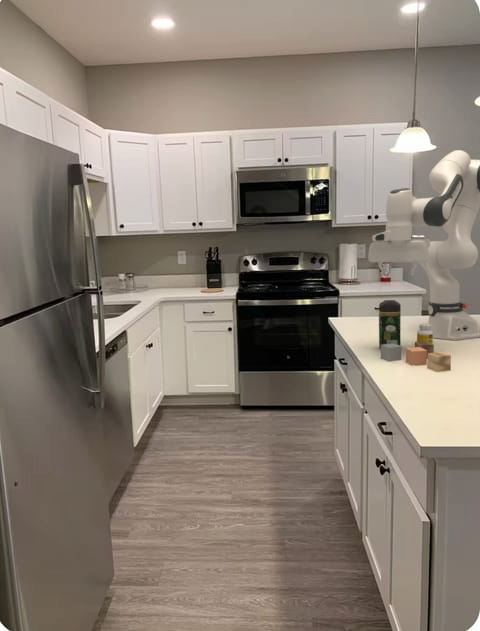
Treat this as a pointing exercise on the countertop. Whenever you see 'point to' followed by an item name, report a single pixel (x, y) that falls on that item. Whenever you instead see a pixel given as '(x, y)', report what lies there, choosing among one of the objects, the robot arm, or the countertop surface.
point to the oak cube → (439, 361)
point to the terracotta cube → (416, 356)
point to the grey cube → (391, 352)
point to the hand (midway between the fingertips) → (397, 275)
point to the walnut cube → (425, 346)
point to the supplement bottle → (425, 333)
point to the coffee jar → (389, 322)
